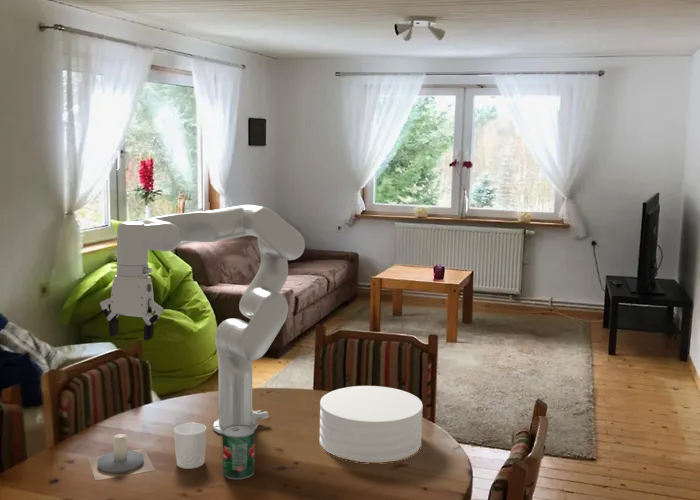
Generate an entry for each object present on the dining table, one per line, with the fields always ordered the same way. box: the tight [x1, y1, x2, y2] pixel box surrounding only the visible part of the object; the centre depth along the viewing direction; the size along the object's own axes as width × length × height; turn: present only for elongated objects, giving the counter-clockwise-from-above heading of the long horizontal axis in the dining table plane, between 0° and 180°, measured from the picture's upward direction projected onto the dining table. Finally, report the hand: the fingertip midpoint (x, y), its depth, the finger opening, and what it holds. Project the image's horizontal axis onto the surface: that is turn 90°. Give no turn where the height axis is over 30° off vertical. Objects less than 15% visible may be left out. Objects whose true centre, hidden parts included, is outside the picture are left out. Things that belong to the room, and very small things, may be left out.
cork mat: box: [87, 448, 156, 481], centre depth 186 cm, size 14×14×1 cm
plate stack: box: [319, 385, 424, 462], centre depth 205 cm, size 28×28×12 cm
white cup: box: [173, 422, 207, 470], centre depth 187 cm, size 8×8×10 cm
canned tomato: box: [221, 424, 256, 480], centre depth 184 cm, size 8×8×11 cm
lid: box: [97, 433, 144, 474], centre depth 185 cm, size 11×11×7 cm
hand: (131, 337), depth 190 cm, fingers open, 9 cm apart
